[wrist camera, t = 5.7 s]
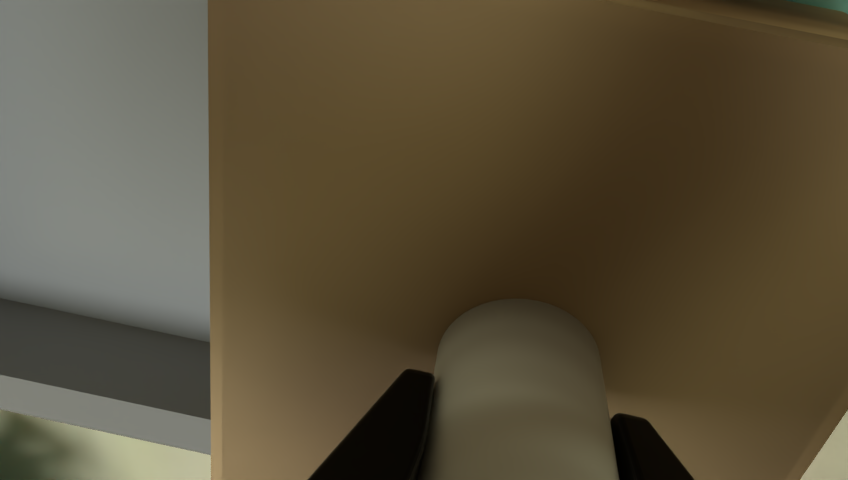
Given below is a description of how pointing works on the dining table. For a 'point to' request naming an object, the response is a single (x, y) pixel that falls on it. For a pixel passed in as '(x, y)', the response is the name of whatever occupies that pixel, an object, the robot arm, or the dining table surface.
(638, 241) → the crate
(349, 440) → the robot arm
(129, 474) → the dining table surface
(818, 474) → the dining table surface
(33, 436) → the dining table surface
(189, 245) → the bay
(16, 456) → the dining table surface
